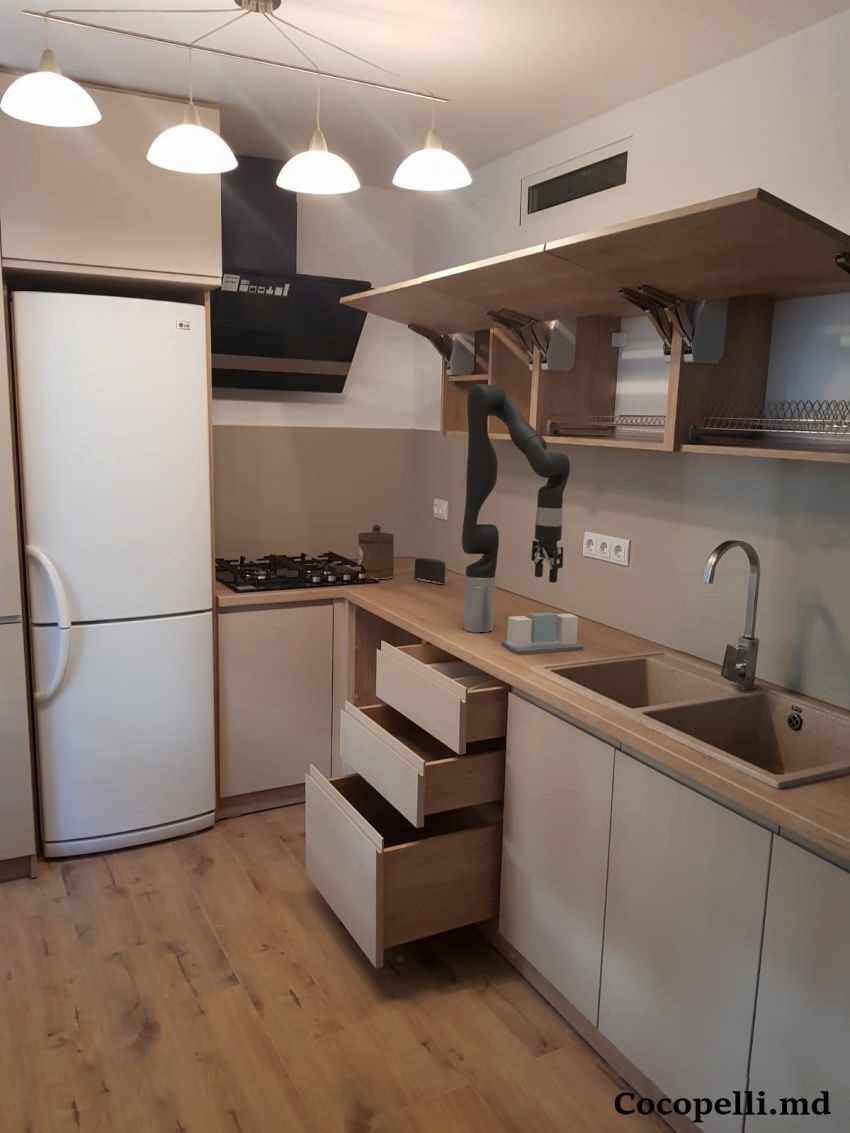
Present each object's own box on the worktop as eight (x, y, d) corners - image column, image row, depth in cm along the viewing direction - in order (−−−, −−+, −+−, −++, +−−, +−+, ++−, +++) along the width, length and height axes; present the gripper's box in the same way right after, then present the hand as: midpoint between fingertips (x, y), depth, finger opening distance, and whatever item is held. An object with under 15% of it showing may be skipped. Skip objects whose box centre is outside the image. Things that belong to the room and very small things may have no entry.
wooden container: (364, 573, 361) (365, 522, 358) (397, 575, 358) (399, 524, 354) (352, 579, 347) (353, 525, 344) (387, 581, 343) (388, 527, 340)
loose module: (528, 640, 246) (529, 613, 244) (549, 638, 248) (550, 612, 247) (534, 643, 242) (535, 616, 241) (555, 641, 245) (557, 614, 243)
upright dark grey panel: (450, 584, 341) (451, 561, 340) (442, 586, 338) (443, 562, 336) (421, 579, 352) (421, 556, 351) (413, 580, 349) (414, 557, 347)
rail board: (500, 645, 247) (502, 614, 245) (563, 641, 254) (565, 611, 253) (517, 655, 237) (519, 622, 235) (583, 650, 244) (584, 619, 242)
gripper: (525, 520, 245) (522, 575, 248) (549, 526, 232) (546, 584, 234) (548, 520, 247) (545, 574, 250) (573, 526, 234) (569, 583, 237)
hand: (545, 579), depth 242 cm, fingers open, 8 cm apart
